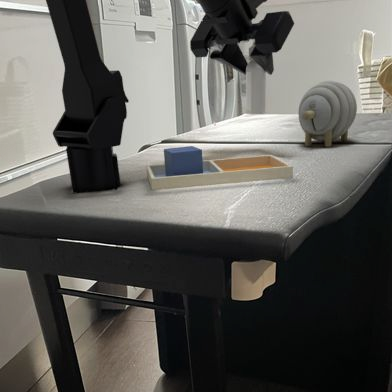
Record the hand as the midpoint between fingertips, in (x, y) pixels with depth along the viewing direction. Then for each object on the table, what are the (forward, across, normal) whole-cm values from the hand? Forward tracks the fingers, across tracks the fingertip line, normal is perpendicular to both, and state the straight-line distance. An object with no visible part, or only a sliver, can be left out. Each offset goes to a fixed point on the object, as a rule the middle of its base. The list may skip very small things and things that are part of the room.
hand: (260, 73), depth 98 cm
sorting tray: (-8, -11, +28) cm, 31 cm away
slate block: (-12, -9, +30) cm, 34 cm away
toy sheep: (+17, -7, +2) cm, 19 cm away
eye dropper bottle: (+4, 0, +6) cm, 7 cm away
